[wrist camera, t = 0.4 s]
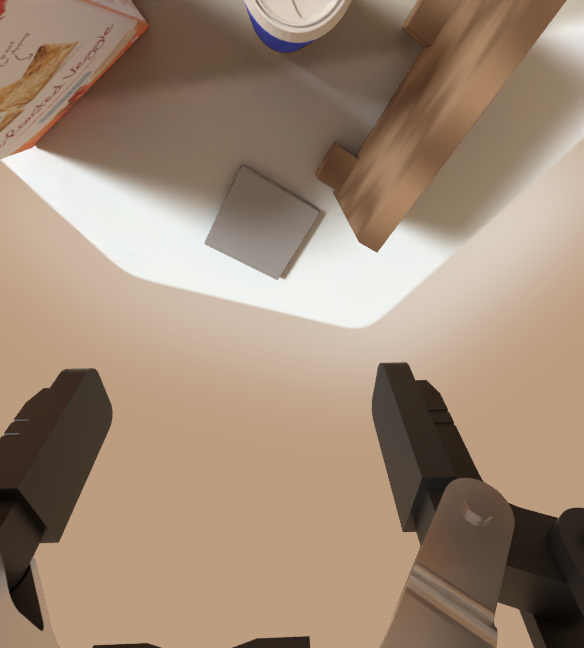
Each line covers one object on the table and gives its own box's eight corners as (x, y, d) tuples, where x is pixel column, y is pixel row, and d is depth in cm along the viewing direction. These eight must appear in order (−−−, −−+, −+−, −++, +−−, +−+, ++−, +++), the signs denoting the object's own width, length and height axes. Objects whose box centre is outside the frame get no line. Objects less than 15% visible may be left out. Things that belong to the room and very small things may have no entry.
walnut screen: (433, -27, 26) (532, -83, 17) (492, 28, 28) (612, 8, 19) (312, 179, 34) (330, 225, 24) (365, 212, 36) (402, 267, 26)
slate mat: (242, 164, 33) (241, 166, 32) (318, 209, 35) (320, 212, 35) (205, 240, 37) (204, 243, 36) (277, 276, 39) (277, 280, 38)
